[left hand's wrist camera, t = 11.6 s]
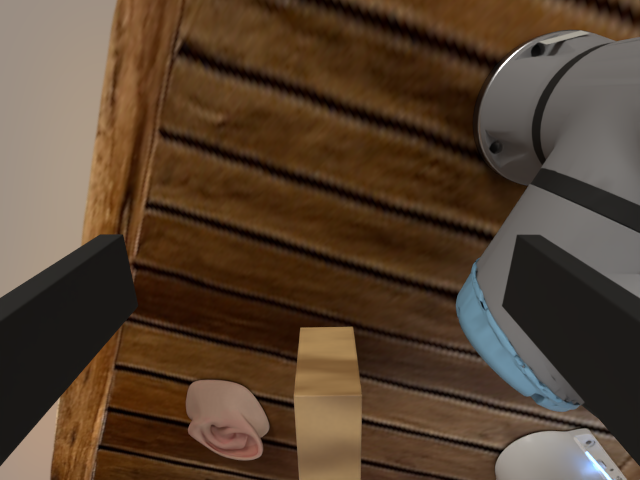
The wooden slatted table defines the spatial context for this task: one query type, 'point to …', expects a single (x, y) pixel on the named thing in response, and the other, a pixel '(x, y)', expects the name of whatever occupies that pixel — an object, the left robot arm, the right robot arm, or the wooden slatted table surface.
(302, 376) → the bar
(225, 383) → the anatomical model
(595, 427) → the wooden slatted table surface
